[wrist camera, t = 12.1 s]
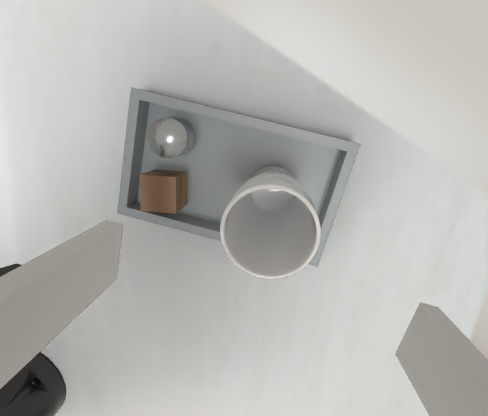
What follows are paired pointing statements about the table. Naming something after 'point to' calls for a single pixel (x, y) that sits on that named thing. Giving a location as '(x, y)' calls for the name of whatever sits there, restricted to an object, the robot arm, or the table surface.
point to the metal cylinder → (171, 137)
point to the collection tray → (229, 162)
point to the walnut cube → (163, 191)
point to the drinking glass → (270, 225)
